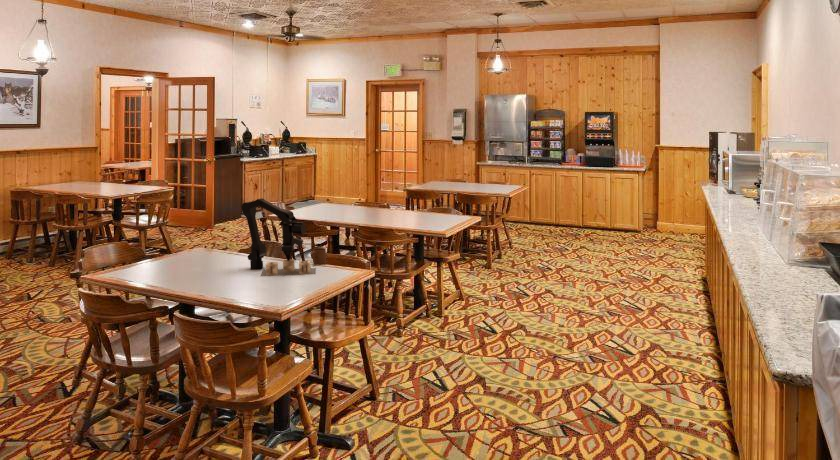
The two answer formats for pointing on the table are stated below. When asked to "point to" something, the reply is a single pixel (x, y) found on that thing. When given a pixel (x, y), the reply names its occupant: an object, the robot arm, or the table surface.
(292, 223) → the robot arm
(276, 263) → the marked block left
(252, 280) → the table surface
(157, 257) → the table surface
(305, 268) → the marked block right
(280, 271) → the mat
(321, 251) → the mug
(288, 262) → the plain block
